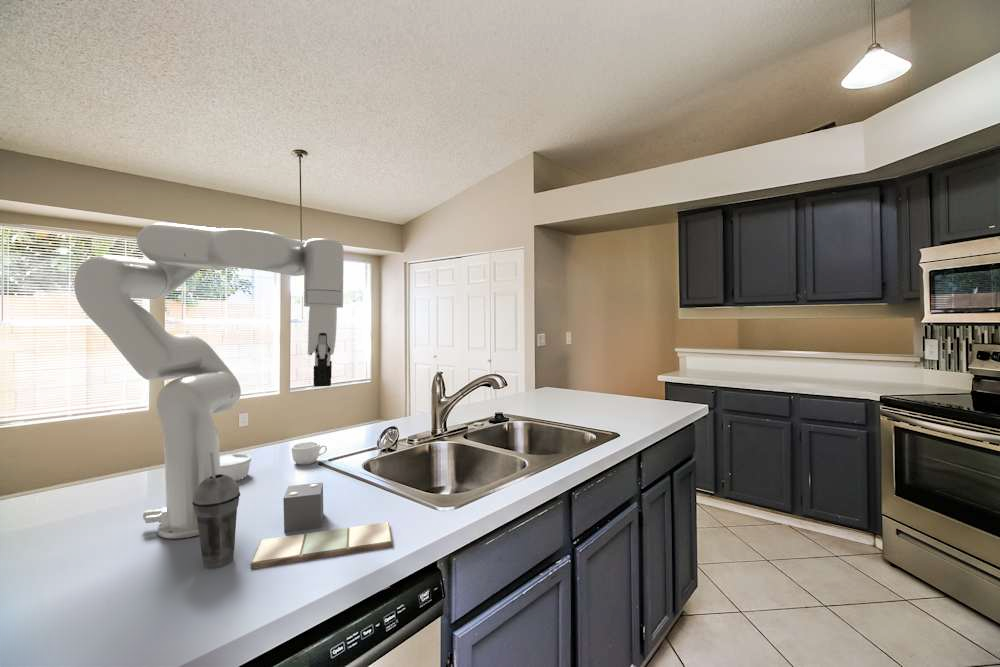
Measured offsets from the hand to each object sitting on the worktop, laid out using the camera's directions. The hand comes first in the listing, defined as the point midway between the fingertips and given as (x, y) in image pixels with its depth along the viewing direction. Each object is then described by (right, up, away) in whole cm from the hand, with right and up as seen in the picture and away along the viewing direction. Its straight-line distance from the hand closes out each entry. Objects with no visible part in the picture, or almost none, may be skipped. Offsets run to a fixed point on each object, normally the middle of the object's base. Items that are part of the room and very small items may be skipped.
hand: (322, 382), depth 94 cm
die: (-5, -30, +3) cm, 31 cm away
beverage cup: (-14, -31, -13) cm, 36 cm away
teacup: (-21, -29, +44) cm, 56 cm away
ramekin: (-38, -30, +30) cm, 57 cm away
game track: (+4, -30, -7) cm, 31 cm away
